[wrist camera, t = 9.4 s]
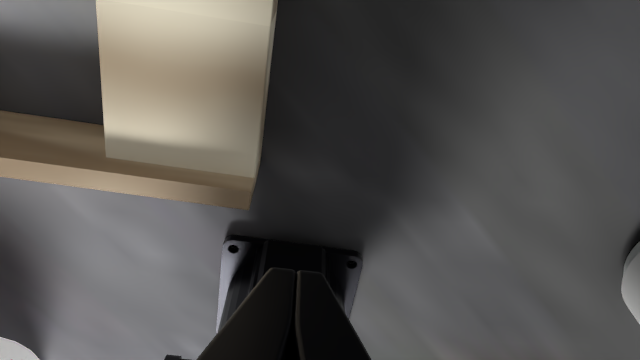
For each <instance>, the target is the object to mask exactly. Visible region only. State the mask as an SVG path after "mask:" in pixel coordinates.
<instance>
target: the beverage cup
mask: <svg viewBox="0 0 640 360" xmlns="http://www.w3.org/2000/svg"><path fill="white" fill-rule="evenodd" d="M0 360H40V359H39V358H38V357H37V356H36V355H35V354H34V353H33V352H32V351H31V350H30V349H28V348H26V347H25V346H23V345H21V344H19V343H18V342H16V341H13V340H9V339H6V338H2V337H0Z"/></svg>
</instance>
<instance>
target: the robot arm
mask: <svg viewBox="0 0 640 360" xmlns="http://www.w3.org/2000/svg"><path fill="white" fill-rule="evenodd" d="M230 245H236V246H237V247H238V248H232V247H231V246H230ZM350 260H353V261H356V262H354V263H348V261H350ZM361 269H362V257H361V255H360V254H359V253H358V252H356V251H351V250H343V249H336V248H328V247H321V246H315V245H307V244H300V243H292V242H285V241H277V240H268V239H260V238H253V237H245V236H238V235H231V236H228V237H227V238H226V239H225V241H224V244H223V247H222V259H221V273H220V286H219V300H218V314H217V327H216V334H217V335H216V336H215V337H214V338H213V340H212V341H211V342H210V343H209V345H208V346H207V347H206V348H205V350H204V351H203V352H202V353H201V355H200V356H199V357H198V358H197V360H371V358H370V356H369V354H368V353H367V351H366V349H365V347H364V346H363V344H362V342H361V340H360V339H359V337H358V335H357V333H356V331H355V330H354V328H353V326H352V324H351V323H350V321H349V316H350V313H351V309H352V305H353V301H354V297H355V293H356V289H357V285H358V281H359V277H360V273H361ZM164 360H190V359H182V358H181V356H174V355H167V356H166V357H165V359H164Z"/></svg>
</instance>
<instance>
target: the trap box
mask: <svg viewBox="0 0 640 360" xmlns="http://www.w3.org/2000/svg"><path fill="white" fill-rule="evenodd" d="M277 4H278V0H96V10H97V25H98V41H99V57H100V72H101V88H102V103H103V119H104V125H98V124H91V123H85V122H78V121H71V120H64V119H57V118H50V117H43V116H36V115H29V114H22V113H15V112H8V111H1V110H0V177H7V178H15V179H22V180H30V181H37V182H44V183H52V184H59V185H66V186H74V187H81V188H88V189H96V190H103V191H111V192H118V193H125V194H133V195H140V196H147V197H155V198H162V199H169V200H177V201H184V202H191V203H199V204H206V205H214V206H221V207H228V208H236V209H243V210H249V208H250V204H251V200H252V196H253V192H254V187H255V183H256V179H257V175H258V171H259V167H260V160H261V151H262V141H263V132H264V123H265V114H266V105H267V96H268V87H269V77H270V68H271V59H272V50H273V41H274V32H275V23H276V13H277Z"/></svg>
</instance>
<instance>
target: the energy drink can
mask: <svg viewBox="0 0 640 360" xmlns="http://www.w3.org/2000/svg"><path fill="white" fill-rule="evenodd" d="M623 275H624V277H623V279H622V287H621V292H622V296H623V300H624V301H625V303H626V305H627V307H628V308H629V310H630V311H631V312H632V314H633V315H634V317H635V318H636V320H637V321H638V322H639V324H640V241H639V242H638V243H637V244H636V246H635V247H634V248H633V249H632V250H631V252H630V254H629V255H628V257H627V259H626V262H625V265H624V271H623Z"/></svg>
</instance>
